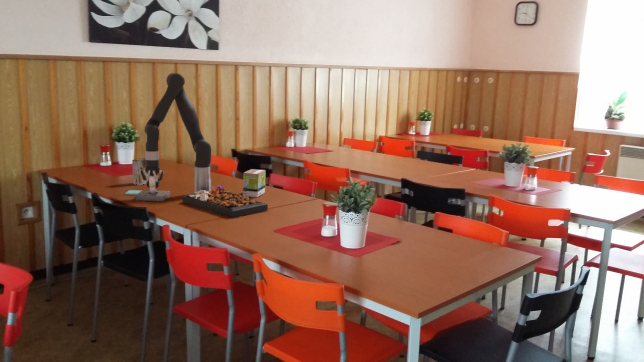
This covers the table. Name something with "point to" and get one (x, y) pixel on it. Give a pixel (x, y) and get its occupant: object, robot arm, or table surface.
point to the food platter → (224, 202)
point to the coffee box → (137, 167)
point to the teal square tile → (133, 192)
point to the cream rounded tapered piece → (152, 184)
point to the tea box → (254, 183)
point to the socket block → (152, 195)
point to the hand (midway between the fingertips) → (152, 187)
